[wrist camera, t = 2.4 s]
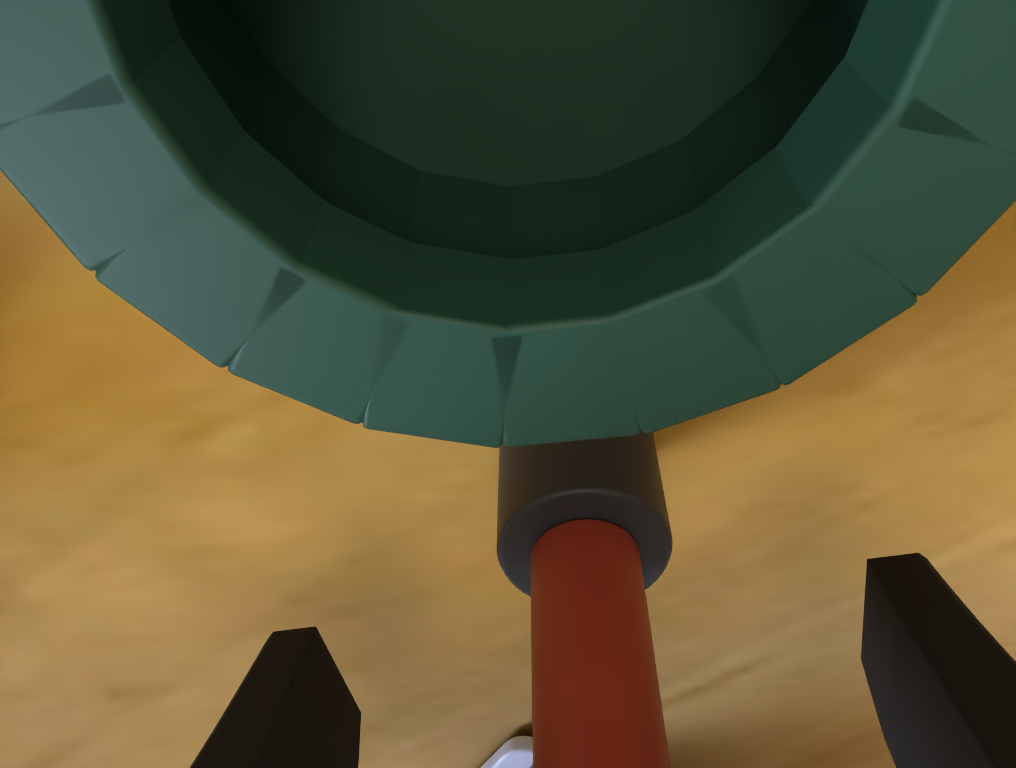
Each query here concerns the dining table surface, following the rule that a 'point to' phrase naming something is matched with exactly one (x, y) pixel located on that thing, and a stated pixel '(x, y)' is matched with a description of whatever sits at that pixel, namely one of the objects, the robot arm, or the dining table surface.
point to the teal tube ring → (513, 190)
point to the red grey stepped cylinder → (588, 594)
